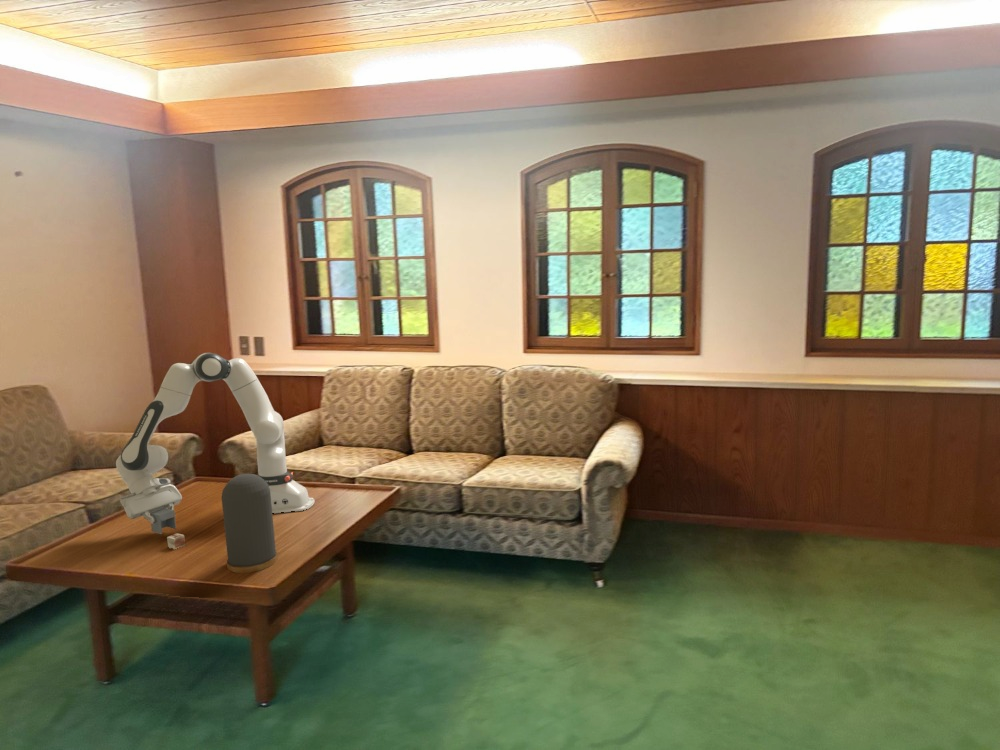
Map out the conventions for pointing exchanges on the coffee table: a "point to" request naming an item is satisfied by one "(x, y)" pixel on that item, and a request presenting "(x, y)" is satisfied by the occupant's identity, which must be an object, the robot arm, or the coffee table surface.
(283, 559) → the coffee table surface
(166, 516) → the slate cover
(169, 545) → the letter cube
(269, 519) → the decorative piece
